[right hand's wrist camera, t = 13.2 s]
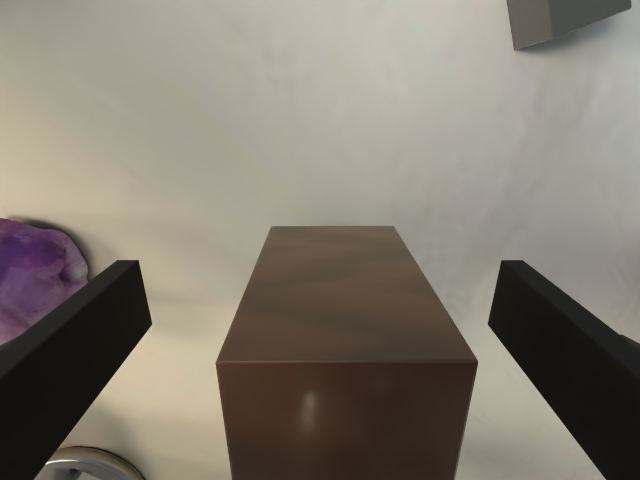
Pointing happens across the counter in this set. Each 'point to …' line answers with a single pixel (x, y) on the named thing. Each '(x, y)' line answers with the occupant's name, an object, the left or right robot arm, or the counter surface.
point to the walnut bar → (343, 363)
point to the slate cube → (556, 17)
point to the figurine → (35, 275)
